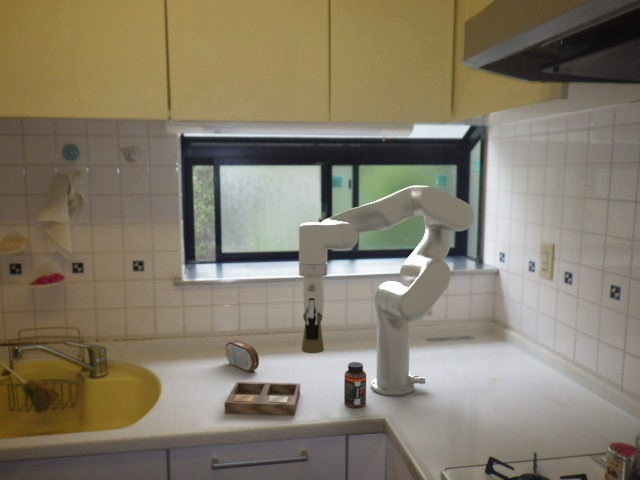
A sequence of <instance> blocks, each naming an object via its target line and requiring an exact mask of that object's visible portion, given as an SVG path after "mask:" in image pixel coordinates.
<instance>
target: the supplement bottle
mask: <svg viewBox="0 0 640 480" xmlns="http://www.w3.org/2000/svg"><path fill="white" fill-rule="evenodd" d="M343 382H344V386H343V387H344V389H343V390H344V394H343V395H344V396H343V397H344V398H343V399H344V402H343V403H344V405H346V406H347V407H349V408H352V409H358V408H359V409H360V408H364V406H366V402H367V373H366V372H365V370H364V365H363V363H361V362H358V361H353V362H349V363H348V365H347V370H346V371H345V372H344V381H343Z"/></svg>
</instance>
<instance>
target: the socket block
mask: <svg viewBox="0 0 640 480" xmlns="http://www.w3.org/2000/svg"><path fill="white" fill-rule="evenodd" d="M300 395H301V383H298V382H297V383H295V382H293V383H291V382H290V383H289V382H257V381H255V382H252V381H236V383H235V384H234V386H233V388H232V389H231V391H230V393H229V395H228V396H227V398H226V400H225V401H224V414H225V415H226V414H227V415H228V414H231V415H233V414H234V415H259V416H260V415H263V416H293V417H294V416H295V414H296V411H297V406H298V403H299V400H300Z"/></svg>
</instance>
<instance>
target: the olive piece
mask: <svg viewBox="0 0 640 480" xmlns="http://www.w3.org/2000/svg"><path fill="white" fill-rule="evenodd" d="M314 313H316V311H314ZM302 316H303V321H304V322H305V323H304V331H303V336H302V337H303V339H302V344H301V352H304V353H306V354H318V353H322V352H324V351H325V348H324V340H323V331H322V325H321V324H322V323H321V322H323V321H322V320H323V318H324V317H323V316H324V315H323V313H322V314H320V313H318V316H317V324H318V340H307V339H306V324H307V314H306V313H304V312H303V315H302ZM314 317H315V315H314Z"/></svg>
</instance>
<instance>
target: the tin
mask: <svg viewBox="0 0 640 480" xmlns="http://www.w3.org/2000/svg"><path fill="white" fill-rule="evenodd" d="M225 354H226V355H225V356H226V359H227V361H228V362H229V364H230V365H231V366H233V367H236V368H237V369H240V370H242V371H244V372H247V373H249V372H252V371H256V370H257V369H258V368H259V364H260V359H259V353H258V351H257V350H256V349H255V348H254V346H252V345H251V344H248V343H245V342H243V341H240V340H237V339H234V340H232V341H228V342H227V344H226V345H225Z"/></svg>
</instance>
